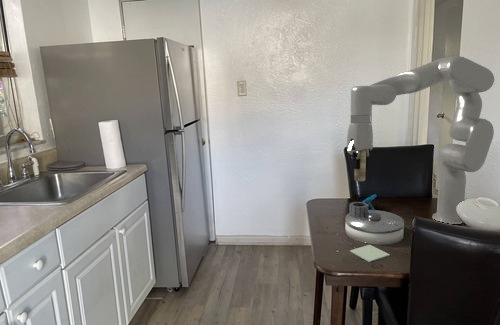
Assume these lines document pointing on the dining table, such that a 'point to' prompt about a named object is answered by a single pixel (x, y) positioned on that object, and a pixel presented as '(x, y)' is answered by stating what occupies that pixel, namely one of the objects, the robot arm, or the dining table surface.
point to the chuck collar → (372, 219)
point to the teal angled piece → (370, 201)
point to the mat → (369, 253)
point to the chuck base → (374, 236)
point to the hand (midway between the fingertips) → (360, 167)
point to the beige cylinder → (361, 167)
